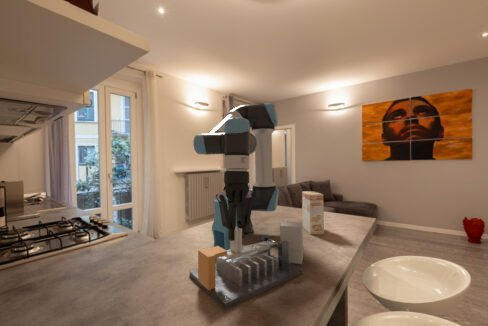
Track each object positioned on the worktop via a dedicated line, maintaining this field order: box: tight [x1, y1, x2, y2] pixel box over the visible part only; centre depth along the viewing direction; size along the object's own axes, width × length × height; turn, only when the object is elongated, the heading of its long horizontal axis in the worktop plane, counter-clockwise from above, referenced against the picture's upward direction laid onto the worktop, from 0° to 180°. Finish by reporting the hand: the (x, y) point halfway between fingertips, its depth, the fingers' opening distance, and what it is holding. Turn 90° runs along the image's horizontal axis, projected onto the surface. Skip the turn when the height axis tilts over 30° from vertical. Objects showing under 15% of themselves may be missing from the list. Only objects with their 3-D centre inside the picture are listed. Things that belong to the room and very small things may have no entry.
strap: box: [224, 238, 279, 259], centre depth 69 cm, size 6×20×2 cm, turn 127°
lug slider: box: [197, 246, 227, 290], centre depth 60 cm, size 6×6×8 cm
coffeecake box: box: [301, 190, 325, 236], centre depth 114 cm, size 15×7×20 cm, turn 179°
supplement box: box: [279, 220, 304, 265], centre depth 78 cm, size 7×7×13 cm
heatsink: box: [189, 234, 303, 311], centre depth 67 cm, size 20×28×8 cm
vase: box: [211, 199, 238, 250], centre depth 85 cm, size 8×8×20 cm
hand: (236, 250), depth 64 cm, fingers closed, pressing on strap
